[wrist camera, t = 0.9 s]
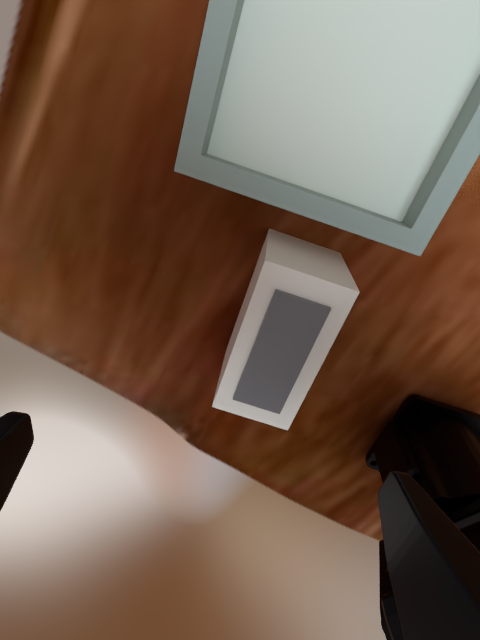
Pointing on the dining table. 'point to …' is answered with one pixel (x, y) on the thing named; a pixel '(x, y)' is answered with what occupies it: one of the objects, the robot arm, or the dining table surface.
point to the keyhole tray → (339, 110)
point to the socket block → (284, 329)
